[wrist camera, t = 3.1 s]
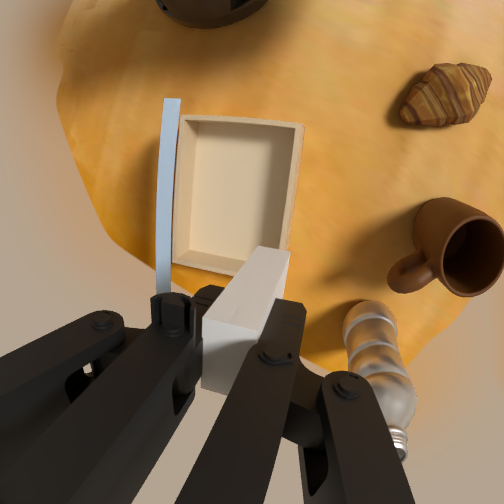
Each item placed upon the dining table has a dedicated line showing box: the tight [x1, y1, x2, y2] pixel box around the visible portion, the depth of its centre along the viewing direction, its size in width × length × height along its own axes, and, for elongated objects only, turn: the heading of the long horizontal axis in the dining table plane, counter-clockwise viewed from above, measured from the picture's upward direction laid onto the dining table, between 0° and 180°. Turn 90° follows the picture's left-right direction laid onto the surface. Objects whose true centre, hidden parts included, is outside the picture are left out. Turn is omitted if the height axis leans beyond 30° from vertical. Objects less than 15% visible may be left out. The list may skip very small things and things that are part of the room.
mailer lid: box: [156, 98, 181, 294], centre depth 24 cm, size 16×12×1 cm
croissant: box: [399, 63, 492, 126], centre depth 21 cm, size 14×7×5 cm, turn 123°
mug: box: [387, 197, 504, 297], centre depth 25 cm, size 12×8×9 cm, turn 118°
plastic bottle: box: [342, 300, 417, 463], centre depth 24 cm, size 6×7×20 cm
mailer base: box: [172, 115, 305, 276], centre depth 31 cm, size 16×12×4 cm
